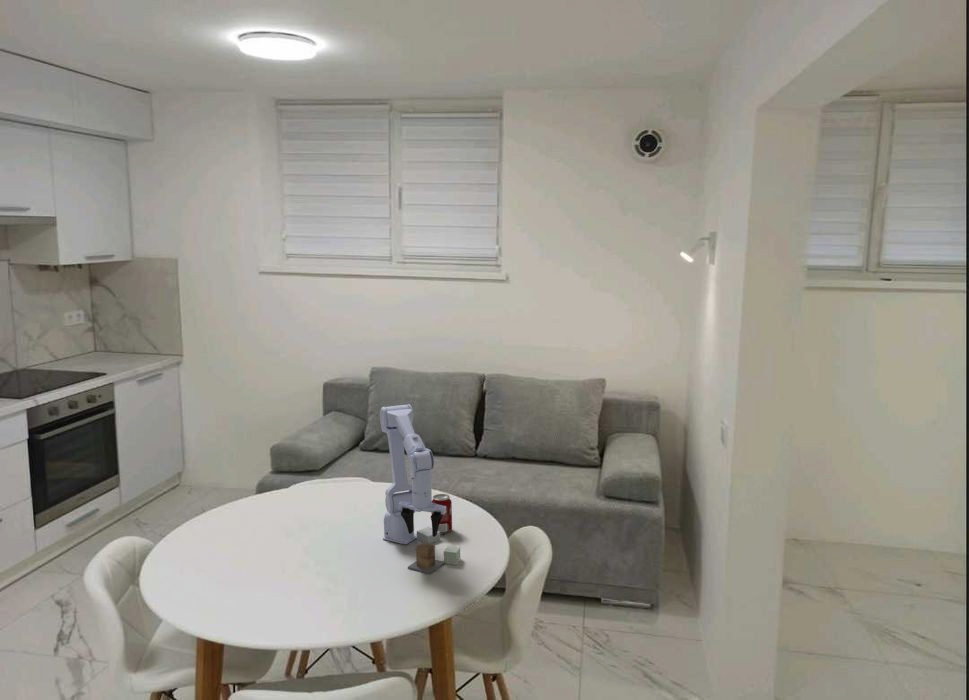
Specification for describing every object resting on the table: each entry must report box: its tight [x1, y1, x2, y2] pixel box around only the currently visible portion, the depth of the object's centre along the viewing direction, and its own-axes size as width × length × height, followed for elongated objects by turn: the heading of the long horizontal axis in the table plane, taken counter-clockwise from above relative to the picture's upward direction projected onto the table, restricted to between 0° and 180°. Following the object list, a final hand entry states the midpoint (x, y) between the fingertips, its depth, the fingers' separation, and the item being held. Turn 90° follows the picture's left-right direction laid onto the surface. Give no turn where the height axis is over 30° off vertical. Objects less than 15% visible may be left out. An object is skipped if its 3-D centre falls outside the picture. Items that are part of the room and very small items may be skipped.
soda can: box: [430, 493, 453, 535], centre depth 247 cm, size 7×7×12 cm
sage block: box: [443, 545, 461, 566], centre depth 226 cm, size 4×4×4 cm
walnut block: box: [415, 542, 436, 569], centre depth 222 cm, size 4×4×6 cm
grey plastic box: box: [416, 526, 441, 544], centre depth 242 cm, size 6×5×3 cm
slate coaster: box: [407, 558, 445, 575], centre depth 223 cm, size 8×8×1 cm
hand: (423, 533), depth 223 cm, fingers open, 7 cm apart
